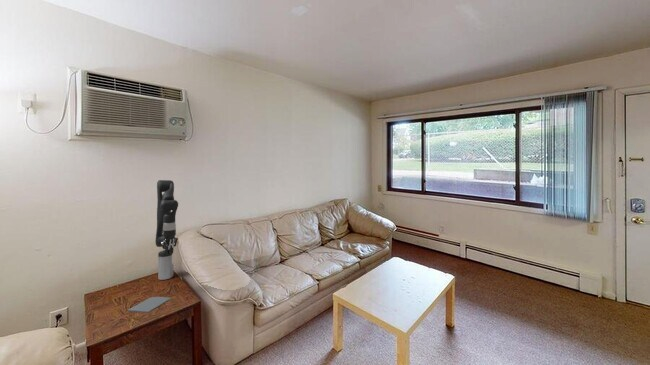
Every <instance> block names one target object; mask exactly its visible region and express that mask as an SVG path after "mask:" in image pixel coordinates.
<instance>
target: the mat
mask: <svg viewBox="0 0 650 365" xmlns="http://www.w3.org/2000/svg"><path fill="white" fill-rule="evenodd" d="M171 299H172V297H167V296H166V297H165V296H152V297H151V296H150V297H148V298H146V299H145V300H144V301H141V302H140V303H138V304H136V305H134V306H132V307H131V308H129V309H127V312H134V313H135V312H136V313H145V314H147V313H150V312H152V311H154V310H155V309H156V308H158V307H160V306H162V305H163V304H165V303H167V302H168V301H170V300H171Z"/></svg>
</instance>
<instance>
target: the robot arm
mask: <svg viewBox="0 0 650 365" xmlns="http://www.w3.org/2000/svg"><path fill="white" fill-rule="evenodd" d="M156 183H157V184H156V192H157V193H156V195H157V198H156V199H157V204H156V206H157V207H156V231H155V246H156V247H158V248H162V250H160V251H159V252H158V253H157V254H158V255H157V262H158V263H157V264H158V268H157V270H158V273H157V274H158V275H157V276H158V278H157V279H158V280H159V281H163V280H168V279H169V280H170V279H171V278H172V277H174V263H173V254H174V248H175V247H177V244H178V240H179V238H178V237H176V235H177V225H176V214H177V212H178V207H179V202H178V200H176V199H175V196H174V195H175V194H174V193H175V183H174V181H173V180H168V179H159V180H158V181H157V182H156Z"/></svg>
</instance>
